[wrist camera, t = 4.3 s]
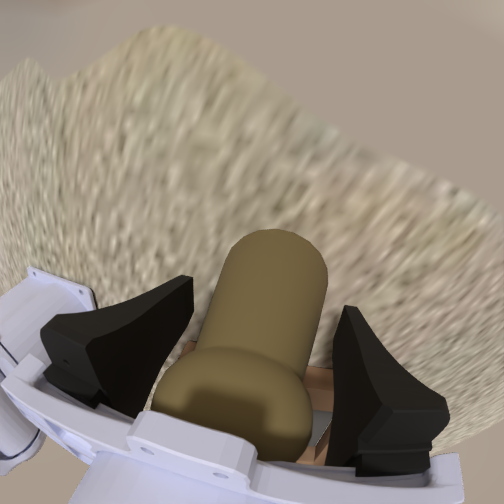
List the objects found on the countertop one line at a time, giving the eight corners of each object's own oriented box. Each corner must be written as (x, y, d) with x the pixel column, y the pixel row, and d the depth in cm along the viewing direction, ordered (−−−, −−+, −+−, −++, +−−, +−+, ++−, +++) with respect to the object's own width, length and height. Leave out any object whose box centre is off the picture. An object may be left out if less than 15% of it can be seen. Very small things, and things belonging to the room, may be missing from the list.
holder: (198, 432, 26) (192, 446, 25) (188, 340, 20) (178, 358, 18) (331, 456, 24) (330, 471, 22) (389, 375, 18) (392, 396, 16)
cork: (303, 333, 17) (276, 502, 8) (214, 300, 18) (127, 450, 8) (345, 252, 15) (368, 451, 5) (239, 212, 15) (112, 366, 5)
